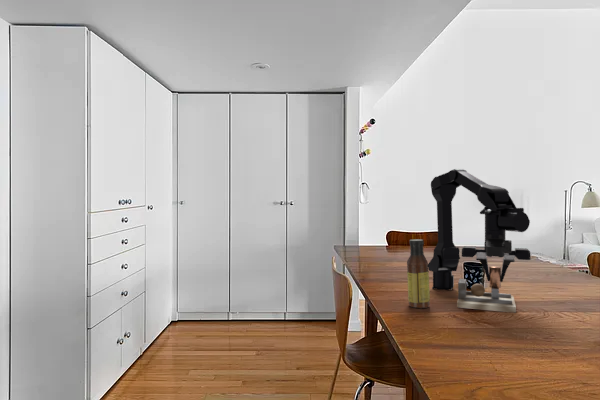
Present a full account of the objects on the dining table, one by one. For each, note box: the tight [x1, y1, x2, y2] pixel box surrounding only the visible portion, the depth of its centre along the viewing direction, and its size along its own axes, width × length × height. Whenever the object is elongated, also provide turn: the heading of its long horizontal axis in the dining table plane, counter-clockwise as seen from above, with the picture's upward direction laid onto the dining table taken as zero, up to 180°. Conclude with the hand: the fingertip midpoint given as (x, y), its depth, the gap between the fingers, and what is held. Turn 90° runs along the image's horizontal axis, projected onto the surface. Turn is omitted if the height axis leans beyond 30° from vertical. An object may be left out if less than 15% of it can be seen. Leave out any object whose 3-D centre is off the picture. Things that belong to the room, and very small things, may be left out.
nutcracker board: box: [456, 278, 517, 314], centre depth 135 cm, size 16×16×6 cm
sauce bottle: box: [406, 238, 431, 309], centre depth 132 cm, size 6×6×20 cm
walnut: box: [470, 283, 486, 297], centre depth 136 cm, size 4×4×4 cm
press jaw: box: [488, 265, 502, 299], centre depth 134 cm, size 3×6×10 cm, turn 157°
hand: (495, 281), depth 134 cm, fingers closed on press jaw, 3 cm apart
